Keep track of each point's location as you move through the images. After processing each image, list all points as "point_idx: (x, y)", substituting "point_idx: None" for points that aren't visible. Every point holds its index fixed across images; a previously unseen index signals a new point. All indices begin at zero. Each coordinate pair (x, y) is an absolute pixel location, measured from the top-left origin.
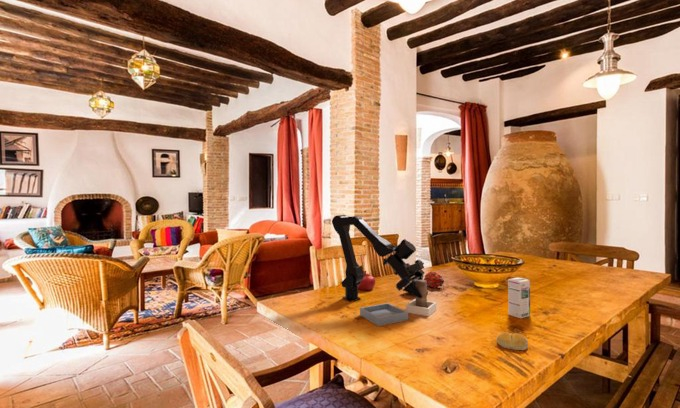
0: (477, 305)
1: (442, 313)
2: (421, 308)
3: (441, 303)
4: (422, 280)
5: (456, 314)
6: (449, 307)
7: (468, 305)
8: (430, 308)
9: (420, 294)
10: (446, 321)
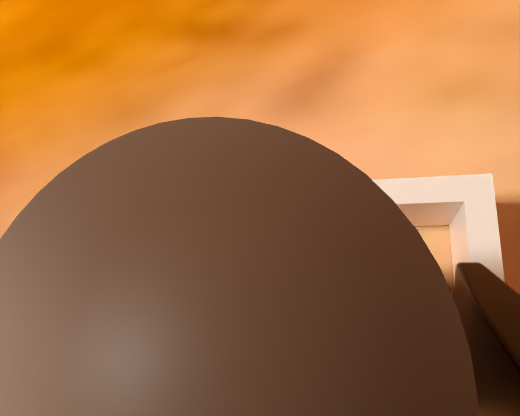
0: (7, 4)
1: (297, 126)
2: (501, 277)
3: None
4: (41, 349)
5: (263, 28)
6: (112, 139)
7: (22, 47)
8: (408, 182)
9: (512, 292)
10: (504, 12)
